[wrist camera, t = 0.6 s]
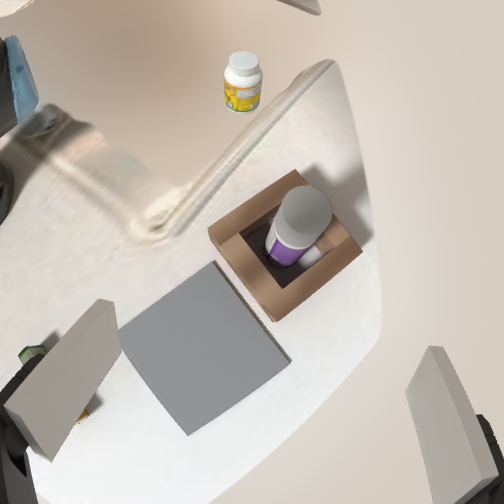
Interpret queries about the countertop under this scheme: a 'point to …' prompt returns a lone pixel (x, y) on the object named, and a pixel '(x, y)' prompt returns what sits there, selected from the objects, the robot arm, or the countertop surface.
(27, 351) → the medication box
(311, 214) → the container
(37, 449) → the robot arm
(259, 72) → the supplement bottle
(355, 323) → the countertop surface
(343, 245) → the walnut box
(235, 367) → the grey mat
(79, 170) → the countertop surface
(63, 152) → the countertop surface
